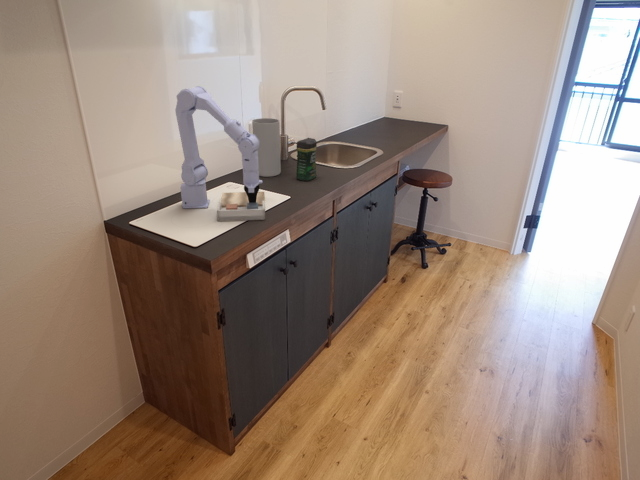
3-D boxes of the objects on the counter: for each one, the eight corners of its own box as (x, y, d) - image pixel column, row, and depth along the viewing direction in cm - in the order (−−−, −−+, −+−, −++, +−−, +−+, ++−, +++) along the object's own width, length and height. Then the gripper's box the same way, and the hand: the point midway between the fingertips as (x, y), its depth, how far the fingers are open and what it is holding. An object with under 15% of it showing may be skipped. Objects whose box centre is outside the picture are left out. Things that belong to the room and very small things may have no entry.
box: (218, 221, 151) (216, 211, 149) (220, 211, 159) (219, 201, 157) (265, 219, 153) (264, 209, 151) (264, 210, 161) (264, 200, 159)
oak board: (220, 211, 159) (219, 205, 158) (222, 198, 171) (222, 192, 170) (264, 210, 161) (264, 204, 160) (264, 197, 173) (264, 191, 172)
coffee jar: (308, 182, 192) (308, 142, 183) (293, 179, 195) (293, 139, 187) (318, 177, 199) (319, 138, 191) (305, 174, 203) (305, 135, 194)
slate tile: (247, 212, 154) (246, 206, 153) (247, 208, 157) (247, 202, 156) (258, 212, 154) (257, 206, 153) (258, 208, 158) (257, 202, 157)
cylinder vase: (278, 168, 210) (276, 117, 199) (282, 176, 199) (281, 123, 188) (253, 170, 207) (250, 118, 196) (256, 178, 196) (253, 123, 185)
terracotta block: (226, 214, 152) (225, 208, 151) (227, 210, 156) (226, 204, 155) (237, 214, 153) (237, 207, 152) (238, 209, 156) (237, 203, 155)
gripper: (261, 175, 146) (263, 211, 152) (261, 163, 159) (263, 197, 165) (241, 175, 145) (244, 211, 151) (242, 164, 158) (245, 197, 164)
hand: (252, 204), depth 158 cm, fingers closed
